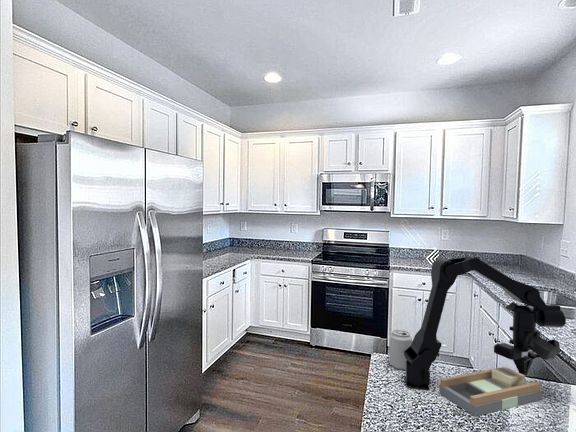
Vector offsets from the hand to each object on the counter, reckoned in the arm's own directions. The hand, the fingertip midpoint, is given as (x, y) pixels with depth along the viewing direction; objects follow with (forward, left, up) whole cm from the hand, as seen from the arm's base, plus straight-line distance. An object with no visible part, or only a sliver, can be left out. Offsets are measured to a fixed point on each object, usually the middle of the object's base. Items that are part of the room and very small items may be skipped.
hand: (523, 376), depth 101 cm
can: (-35, +5, -4) cm, 36 cm away
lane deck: (-11, -8, -4) cm, 15 cm away
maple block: (-5, -4, -1) cm, 7 cm away
